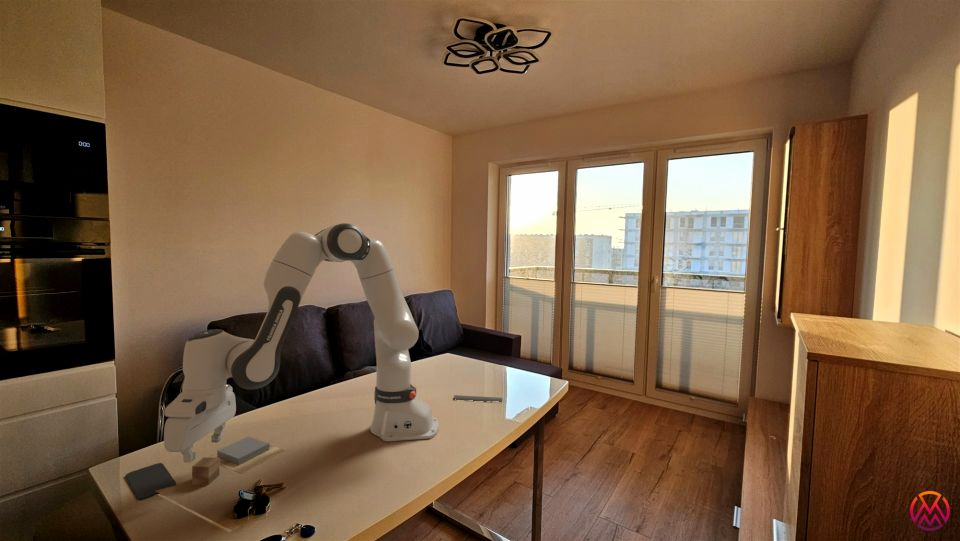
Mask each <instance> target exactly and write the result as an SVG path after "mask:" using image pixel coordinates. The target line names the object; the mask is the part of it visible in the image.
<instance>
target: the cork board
mask: <svg viewBox="0 0 960 541" xmlns="http://www.w3.org/2000/svg"><path fill="white" fill-rule="evenodd" d="M284 451H286V449H282V448H280V447H277V446H275V445H271V444H269V450H268V451H266V452H264V453H262V454H260V455H258V456H256V457H254V458H252V459H250V460H248V461H246V462H244V463H242V464H240V465H237V464H234V463H232V462H229V461H227V460H224V459H221V458H220V463H219V466H221V467H224V468H225V469H229V470H231V471H234V472H236V473H238V474H240V475H241V474H243V473H246V472H248V471H249V470H251V469H252V468H254V467H256V466H258V465H260V464H263V463H264V462H266V461H268V460H270V459H272V458H273V457H276V456H277V455H279V454H281V453H283V452H284ZM207 458H219V457H217V453H214V454H212V455H210V456H208V457H207Z"/></svg>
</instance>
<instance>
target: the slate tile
mask: <svg viewBox="0 0 960 541" xmlns="http://www.w3.org/2000/svg"><path fill="white" fill-rule="evenodd" d="M269 445H270V443H269V442H265V441H263V440H260V439H257V438H254V437H251V436H247V437H243V438H242V439H240V440H238V441H235V442H233V443H230V444H229V445H226V446H224V447H221V448H219V449H218V450H217V452H216V454H217V457H219V458H221V459H224V460H227V461H229V462H232V463H234V464H237V465H240V464H242V463H244V462H246V461H248V460H250V459H252V458H254V457H256V456H258V455H260V454H262V453H264V452H266V451H268V450H269Z"/></svg>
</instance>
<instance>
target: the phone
mask: <svg viewBox="0 0 960 541" xmlns="http://www.w3.org/2000/svg"><path fill="white" fill-rule="evenodd" d="M126 478H127V479H126ZM125 479H126V481H127V480H128V482H129V483H128V482H127V483H128V486H131V487H130V488H132V489H131V490H132V492H133V494H134V496H135V497H136V498H135V499H136V500H138V501H143V500H146V499H149V498H152V497H155V496H157V495H159V494H160V493H159V492H158V491H159V490H163V489H167V488H171V487H174V486H176V485H177V482H176V481H175V480H174V477H172V475H171V472H169V471H168V469H167V468H166V466H165V465H164V464H163V463H162V462H157V463H153V464H151V465H148V466H145V467H142V468H139V469H136V470H132V471H130V472H128V473H126V474H125Z"/></svg>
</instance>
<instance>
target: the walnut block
mask: <svg viewBox="0 0 960 541" xmlns="http://www.w3.org/2000/svg"><path fill="white" fill-rule="evenodd" d="M219 463H220V458H208V457H202V458H201V459H200V460H198V461H197V462H196V463H195V464H193V465H192V466H191V475H192V476H191V485H194V486H195V485H196V486H198V485H199V486H200V485H201V486H202V485H203V486H204V485H205V486H208V485H210V484H211V483H212V482H214V481H215V480H216V479H217V478H218V477H220V465H219Z"/></svg>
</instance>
